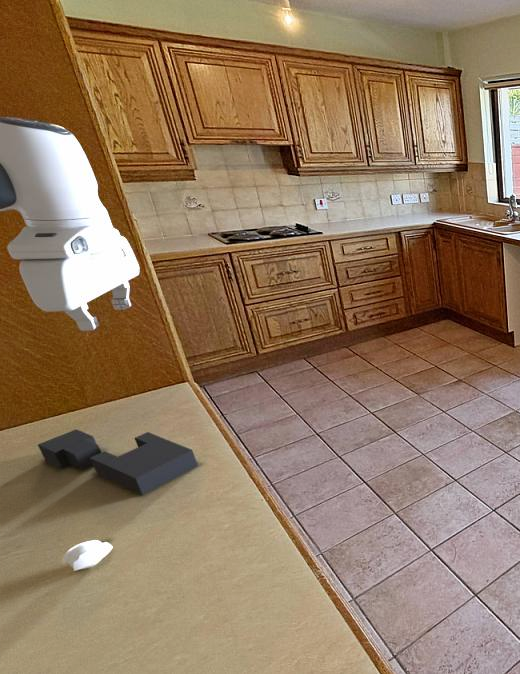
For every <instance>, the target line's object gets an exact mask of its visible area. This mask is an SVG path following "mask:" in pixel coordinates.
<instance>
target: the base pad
mask: <svg viewBox="0 0 520 674" xmlns="http://www.w3.org/2000/svg"><path fill="white" fill-rule="evenodd" d="M134 441H135V443H136V446H137V447H135V448H134V449H131V450H129V451H127V452H124V453H123V454H121V455H119V456H117V455H115V454H112V453H111V452H108V451H106V450H104V451H101V453H99V454H97V455H95V456H93V457H90V460H91V462H92V464H93V466H92V467H93V468H94V470H95V473H96V475H98V476H100V477H102V478H104V479H106V480H108V481H111V482H113V483H115V484H117V485H119V486H121V487H123V488H125V489H127V490H130V491H132V492H134V493H137V495H140V496H144V495H146V494H148V493H150V492H152V491H154V490H155V489H158V488H159V487H162V486H163V485H165V484H167V483H168V482H171V481H172V480H174V479H176V478H177V477H180V476H181V475H184V474H185V473H187V472H189V471H191V470H193V469H194V468H196V467H198V466H199V464H198V462H197V459H196V457H195V453H194V450H193V449H192V448H188V447H187V446H184V445H181V444H179V443H177V442H174V441H171V440H169V439H166V438H164V437H162V436H159V435H156V434H155V433H151V432H149V431H146V432H145V433H142V434H140V435H138V436H135V437H134Z"/></svg>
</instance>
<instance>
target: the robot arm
mask: <svg viewBox="0 0 520 674" xmlns="http://www.w3.org/2000/svg"><path fill="white" fill-rule="evenodd" d="M83 149H84V148H83V147H82V145H81V144H80V142H79V141H78V139H77V138H76V136H75V135H74V134H73V133H72V132H71V131H70V130H68V129H66V128H64V127H62V126H60V125H58V124H55V123H51V122H46V121H41V120H37V119H30V118H20V117H10V116H0V212H5V211H11V210H14V211H17V212H18V213H20V215H21V216H22V218H23V220H24V221H23V222H24V224H25V226H24V227H22V229H21V231H20V232H19V234H18V235H16V236H15V237H14V238H13V239H12V240H11V241H10V242H9V243H8V244H7V247H6V250H7V252H8V254H9V256H10V257H11V259H13V260H21V261H20V263H19V268H18V269H19V273H20V276H21V279H22V281H23V283H24V285H25V288H26V290H27V292H28V294H29V296H30V298H31V300H32V302H33V303H34V305H35V306H36V307H38V308H39V309H40V310H42V311H43V312H45V313H47V312H49V313H53V312H64V313H65V314H66V315H67V316H68V317H69V318H71V319H72V320H73V321H75V322H76V325H77V327H78V329H79V331H82V332H91V331H95V329H97V328H98V327H100V323H99V320H98V318H97V316H92V315H91V314H90V312H88V310H89V306H88V303H90V302H91V301H92V300H95V299H97V298H99V297H101V296H102V295H104V294H106V293H108V292H110V291H112V298H113V299H111V300H110V302H111V304H112V306H113V309H114V310H115V311H121V310H122V311H126V310H127V309H129V308H130V307H132V303H131V300H130V283H129V281H130V280H132V279H134V278H136V277H138V276H139V275H140V265H139V261H138V260H137V258H136V255H135V253H134V250H133V249H132V247H131V245H130V243H129V241H128V240H127V238H126V237H124V236H122V235H121V233H120V232H119V230H118V229H116V228H115V227H114V225H113V224H112V221H111V218H110V216H109V215H110V214H109V212H108V210H107V208H106V207H105V206H104V205H103V203H102V202H101V200H100V198H99V193H98V192H99V191H98V189H99V186H98V182H97V179H96V176H95V174H94V171H93V168H92V166H91V164H90V162H89V159H88V158H87V157H88V156H87V155H86V153H85V151H84V150H83Z"/></svg>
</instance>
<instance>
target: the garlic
mask: <svg viewBox="0 0 520 674" xmlns="http://www.w3.org/2000/svg"><path fill="white" fill-rule="evenodd" d="M112 549H113V545H112V544H110V543H109V542H107V541H105V542H101V541H100V540H97V539H92V540H87V541H84V542H81V543H78V544H76V545H74V546H73V547H71V548H70V549H68V550H67V552H65V554H64V555H63V557H62V560H61V563H60V565H61V566H62V565H64V564H66V563H68V565H69V566H70V567H71V568H72V569H73V572H76V571H79V570H87V569H90V568H92V567H95V566H96V565H97V564H99V563H100V562H101V560H102V559H103V558H105V557H106V556H107V555H108V554H109V553H110V552H111V551H112Z"/></svg>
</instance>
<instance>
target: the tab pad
mask: <svg viewBox="0 0 520 674" xmlns="http://www.w3.org/2000/svg"><path fill="white" fill-rule="evenodd" d="M37 447H38V449H39V450H40V452H41V455H42V456H43V458H44V461H45V462H47V463H50V464H52V465H54V466H56V467H57V468H60V469H65V468H68V467H70V466H71V467H73V468H74V469H76V470H79V471H82V472H83V471H85V470H88V469H90V468H92V467H94V466H93V464H92V462H91V460H90V457H93V456H95V455H97V454H99V453H102V451H101V448H100V446H99V444H97V442H96V439H95V437H94V435H91V434H89V433H87V432H84V431H82V430H80V429H77V428H76V429H73V430H71V431H68V432H66V433H63V434H61V435H58V436H55V437H53V438H51V439H48V440H46V441H43V442H40V443H38V444H37Z"/></svg>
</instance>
